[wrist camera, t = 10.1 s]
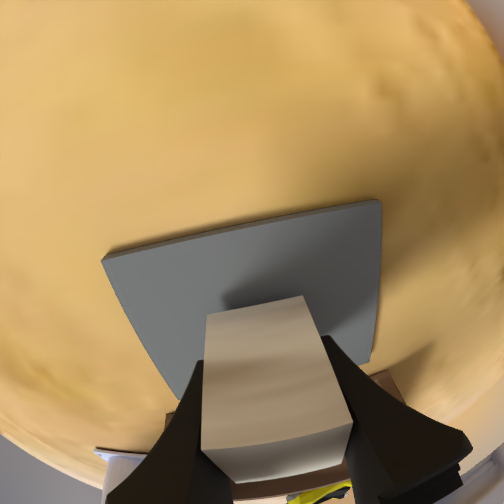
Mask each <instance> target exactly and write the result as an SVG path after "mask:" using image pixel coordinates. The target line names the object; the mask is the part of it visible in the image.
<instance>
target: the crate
mask: <svg viewBox="0 0 504 504" xmlns="http://www.w3.org/2000/svg"><path fill="white" fill-rule="evenodd" d="M370 378H371V379H372V380H373V381H374V382H376V383H377V384H378V385H379V386H380V387H382V388H383V389H384V390H385V391H387V392H388V393H389V394H391V395H392V396H394V397H395V398H396V399H398V400H399V401H401V402H403V403H404V404H406V403H405V401H404V400H403V398H402V396H401V394H400V392H399V390H398V388H397V386H396V385H395V383H394V381H393V379H392V377H391V375H390V374H389V372H388V370H386V371H384V372H381V373H378V374H375V375H372V376H370ZM172 416H173V414H166V419H165V428H164V430H165V429H166V427H167V425H168V424H169V422H170V420H171V418H172ZM348 480H351V479H350V475H349V471H348V467H347V463H346V459H345V455H344V456H343V460H342V463H341V464H338V465H335V466H331V467H328V468H324V469H320V470H316V471H312V472H307V473H303V474H298V475H293V476H288V477H282V478H276V479H270V480H263V481H255V482H245V483H235V482H234V481H233V480H232V479H231V478H230V485H231V492H232V498H233V501H245V500H255V499H264V498H272V497H278V496H285V495H290V494H296V493H301V492H306V491H310V490H315V489H319V488H323V487H327V486H330V485H334V484H338V483H341V482H344V481H348Z"/></svg>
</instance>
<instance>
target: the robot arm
mask: <svg viewBox="0 0 504 504" xmlns="http://www.w3.org/2000/svg"><path fill="white" fill-rule="evenodd" d="M320 338H321V341H322V343H323V346H324V348H325V351H326V353H327V356H328V358H329V361H330V363H331V366H332V368H333V371H334V373H335V376H336V378H337V381H338V384H339V386H340V389H341V391H342V394H343V397H344V399H345V402H346V404H347V407H348V410H349V412H350V415H351V418H352V420H353V425H352V428H351V432H350V436H349V439H348V443H347V446H346V450H345V453H344V455H345V459H346V463H347V467H348V471H349V475H350V479H351V484H352V488H353V493H354V498H355V504H503V503H504V443H503V444H501V445H500V446H499V447H498V448H497V449H496V450H494V451H493V452H492V453H491V454H490V455H488V456H487V457H486V458H485V459H483V460H482V461H480V462H479V463H478V464H476V465H475V466H474V467H473V468H472V469H470V470H469V471H467V472H466V473H464V474H463V475H461V476H460V475H459V473H458V471H459V470H460V466H459V464H458V463H459V462H460V461H461V460H462V459H464V458H465V457H466V456H467V455H468V454H470V453H471V451H472V450H473V447H472V445H471V443H470V441H469V440H468V438H467V437H466V435H465V434H464V433H463V431H461V430H458V429H455V428H452V427H449V426H447V425H445V424H442V423H440V422H438V421H435V420H433V419H431V418H429V417H427V416H425V415H423V414H421V413H420V412H418V411H416V410H414V409H412V408H411V407H409V406H407V405H406V404H404V403H403V402H401V401H399V400H398V399H396V398H395V397H394V396H392V395H391V394H389V393H388V392H387V391H385V390H384V389H383V388H382V387H380V386H379V385H378V384H377V383H376V382H374V381H373V380H372V379H371V378H370V377H369V376H368V375H366V374H365V373H364V372H363V371H362V370H361V369H360V368H359V367H358V366H357V365H356V364H355V363H354V362H353V361H352V360H351V359H350V358H349V357H348V356H347V355H346V353H345V352H344V351H343V350H342V349H341V348H340V347H339V346H338V344H337V343H336V342H335V341H334V340H333V338H332V337H331V336H330V335H325V336H321V337H320ZM203 370H204V360H198V361H197V362H196V365H195V368H194V370H193V373H192V376H191V378H190V380H189V383H188V385H187V388H186V390H185V392H184V394H183V396H182V398H181V401H180V403H179V405H178V407H177V409H176V411H175V413H174V414H173V416H172V418H171V420H170V422H169V424H168V425H167V427H166V429H165V430H164V432H163V433H162V435H161V437H160V438H159V440H158V441H157V442H156V444H155V445H154V447H153V448H152V449H151V451H150V452H149V453H148V455H146V454H133V453H123V452H114V451H107V450H100V449H94V450H93V452H94V453H95V454H97V455H98V456H99V457H101V458H102V459H104V460H105V461H107V468H106V474H105V479H104V486H103V492H102V499H101V504H233V498H232V492H231V485H230V478H229V477H228V476H227V475H226V474H225V473H224V472H223V471H222V470H221V469H220V468H219V467H218V466H217V465H216V464H215V463H214V462H213V461H212V460H211V459H210V458H209V457H208V456H207V455H206V454H205V453H204V452H203V451H202V450H201V424H202V392H203Z"/></svg>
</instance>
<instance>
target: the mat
mask: <svg viewBox="0 0 504 504" xmlns="http://www.w3.org/2000/svg"><path fill="white" fill-rule="evenodd" d="M381 247H382V202H380V201H379V200H377V199H374V200H368V201H362V202H356V203H351V204H345V205H339V206H334V207H328V208H323V209H317V210H312V211H306V212H301V213H296V214H291V215H285V216H280V217H275V218H270V219H265V220H260V221H255V222H250V223H246V224H241V225H236V226H231V227H227V228H222V229H217V230H213V231H208V232H203V233H199V234H194V235H190V236H185V237H181V238H177V239H172V240H168V241H164V242H159V243H155V244H151V245H147V246H142V247H138V248H134V249H130V250H126V251H122V252H118V253H114V254H110V255H106V256H104V257H103V259H102V260H101V263H102V265H103V267H104V270H105V272H106V274H107V276H108V279H109V281H110V283H111V285H112V287H113V289H114V291H115V293H116V296H117V298H118V300H119V302H120V304H121V306H122V308H123V310H124V312H125V313H126V315H127V317H128V319H129V321H130V323H131V325H132V327H133V328H134V330H135V332H136V334H137V336H138V337H139V339H140V341H141V343H142V344H143V346H144V348H145V350H146V351H147V353H148V355H149V356H150V358H151V359H152V361H153V363H154V364H155V366H156V368H157V369H158V371H159V372H160V374H161V375H162V377H163V378H164V380H165V381H166V383H167V384H168V386H169V387H170V389H171V390H172V392H173V393H174V395H175V396H176V398H177V399H178V400H181V398H182V396H183V394H184V392H185V390H186V388H187V385H188V383H189V380H190V378H191V376H192V373H193V370H194V368H195V365H196V362H197V361H198V360H204V351H205V335H206V320H207V314H212V313H218V312H223V311H229V310H234V309H239V308H244V307H249V306H254V305H259V304H264V303H269V302H274V301H279V300H283V299H288V298H292V297H297V296H301V295H303V297H304V300H305V302H306V304H307V307H308V309H309V312H310V314H311V316H312V319H313V321H314V324H315V326H316V328H317V331H318V333H319V336H320V337H321V336H325V335H330V336H331V337H332V338H333V340H334V341H335V342H336V343H337V344H338V346H339V347H340V348H341V349H342V350H343V351H344V352H345V353H346V355H347V356H348V357H349V358H350V359H351V360H352V361H353V362H354V363H355V364H356V365H357V366H359V365H362V364H365V363H368V362H369V361H370V355H371V349H372V343H373V336H374V329H375V321H376V313H377V304H378V294H379V282H380V268H381Z"/></svg>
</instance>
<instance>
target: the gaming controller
mask: <svg viewBox="0 0 504 504" xmlns="http://www.w3.org/2000/svg"><path fill="white" fill-rule="evenodd" d="M350 487H352V484H351V480H348V481H344V482H341V483H338V484H334V485H330V486H327V487H323V488H319V489H315V490H310V491H306V492H301V493H296V494H290V495H288V496H287V497H286V499H287V503H286V504H319V503H322V502H324V501H326V500H329V499H331V498H333V499H341V498H344V497H345V496H347V495H348V493H347V491H348V490H349V489H350Z"/></svg>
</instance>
